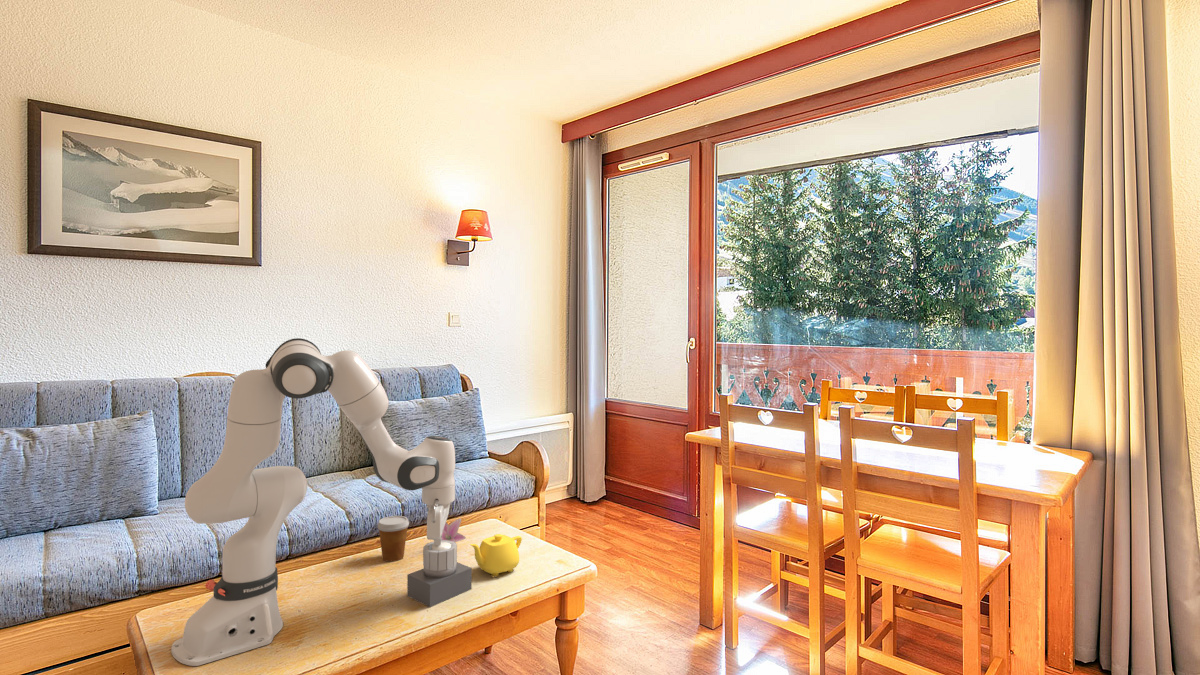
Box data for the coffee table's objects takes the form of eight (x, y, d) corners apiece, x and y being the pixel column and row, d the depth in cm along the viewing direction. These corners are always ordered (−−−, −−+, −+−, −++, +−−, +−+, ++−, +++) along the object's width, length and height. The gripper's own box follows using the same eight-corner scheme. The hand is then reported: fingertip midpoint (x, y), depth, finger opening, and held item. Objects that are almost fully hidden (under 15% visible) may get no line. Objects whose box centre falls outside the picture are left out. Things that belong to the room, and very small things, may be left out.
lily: (424, 550, 202) (420, 530, 197) (452, 528, 209) (449, 509, 204) (447, 570, 195) (443, 550, 190) (475, 547, 203) (472, 527, 198)
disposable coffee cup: (386, 566, 186) (386, 527, 185) (371, 557, 192) (371, 520, 192) (414, 557, 193) (415, 520, 192) (399, 549, 199) (399, 513, 199)
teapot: (479, 585, 174) (479, 548, 174) (460, 572, 182) (460, 537, 182) (531, 568, 186) (531, 534, 186) (511, 557, 194) (511, 524, 194)
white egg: (438, 568, 165) (438, 550, 165) (427, 562, 169) (428, 545, 169) (454, 563, 169) (455, 545, 169) (443, 558, 173) (444, 540, 172)
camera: (430, 607, 160) (430, 558, 160) (407, 596, 166) (407, 549, 166) (471, 588, 171) (471, 543, 171) (448, 579, 177) (449, 535, 177)
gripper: (446, 505, 159) (445, 558, 159) (453, 483, 179) (453, 530, 179) (421, 506, 158) (420, 559, 158) (431, 484, 178) (431, 531, 178)
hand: (438, 543), depth 169 cm, fingers closed
